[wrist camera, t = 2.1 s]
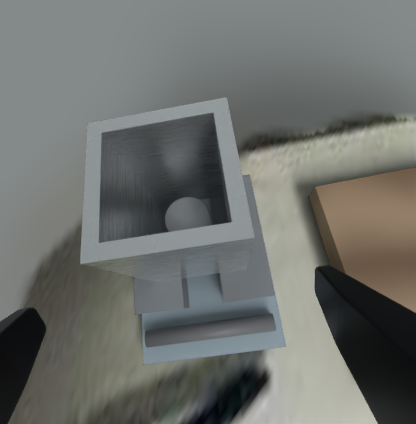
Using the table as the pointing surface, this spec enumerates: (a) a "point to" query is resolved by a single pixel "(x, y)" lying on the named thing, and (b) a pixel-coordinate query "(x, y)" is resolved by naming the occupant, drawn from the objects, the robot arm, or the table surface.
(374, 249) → the walnut board
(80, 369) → the table surface
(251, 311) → the vise
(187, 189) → the steel sleeve
